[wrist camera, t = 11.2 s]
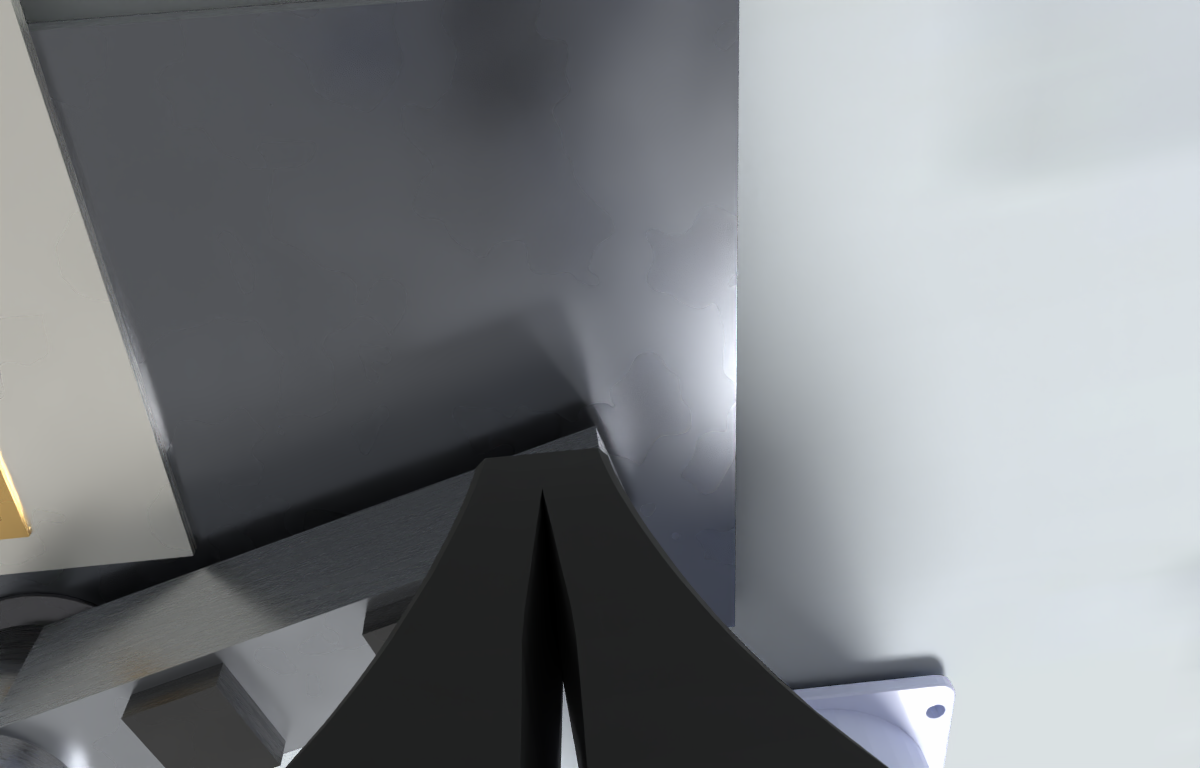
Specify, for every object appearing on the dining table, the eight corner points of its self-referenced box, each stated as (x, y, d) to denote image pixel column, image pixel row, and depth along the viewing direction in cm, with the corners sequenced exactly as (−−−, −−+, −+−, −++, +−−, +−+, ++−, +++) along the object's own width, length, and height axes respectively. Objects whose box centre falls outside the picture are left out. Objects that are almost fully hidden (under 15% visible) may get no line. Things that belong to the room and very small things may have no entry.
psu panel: (728, 639, 27) (737, 673, 26) (-67, 722, 26) (-91, 761, 25) (730, -92, 18) (744, -85, 17) (-464, -3, 17) (-526, 10, 16)
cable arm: (26, 757, 25) (-42, 896, 22) (-75, 656, 23) (-165, 792, 20) (647, 541, 23) (670, 658, 20) (590, 414, 21) (605, 521, 18)
